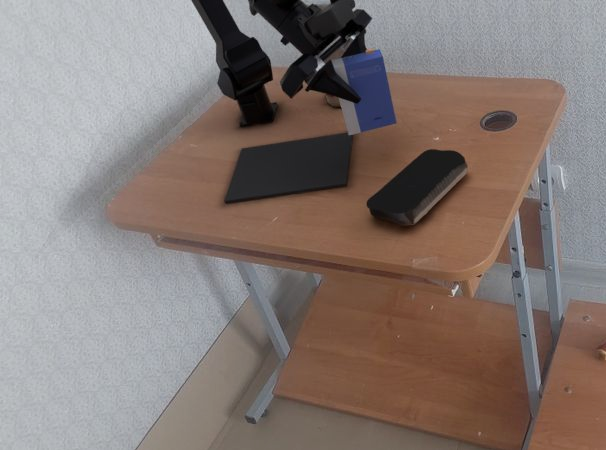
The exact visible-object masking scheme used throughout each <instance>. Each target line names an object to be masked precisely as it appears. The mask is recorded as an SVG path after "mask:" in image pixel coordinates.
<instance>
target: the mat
mask: <svg viewBox="0 0 606 450" xmlns="http://www.w3.org/2000/svg"><path fill="white" fill-rule="evenodd" d="M353 137H354V134H353V135H349V134H348V132H342V133H336V134H328V135H322V136H315V137H309V138H308V137H307V138H302V139H296V140H295V139H294V140H289V141H288V140H287V141H282V142H275V143H269V144H263V145H262V144H261V145H256V146H248V147H242V148H241V150H240V153H239V155H238V158H237V161H236V165H235V167H234V170H233V173H232V176H231V179H230V182H229V185H228V188H227V191H226V194H225V197H224V200H223V203H224V204H225V205H226V204H234V203H239V202H246V201H253V200H261V199H268V198H275V197H281V196H288V195H295V194H302V193H309V192H314V191H315V192H316V191H323V190H330V189H336V188H343V187H347V185H348V179H349V178H348V177H349V169H350V162H351V154H352V146H353Z"/></svg>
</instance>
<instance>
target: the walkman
mask: <svg viewBox="0 0 606 450" xmlns="http://www.w3.org/2000/svg"><path fill="white" fill-rule="evenodd" d="M331 61H332V64H333V66H334V69H335V72H336V73H337V74H338V75H339V76H340V77H341V78H342V79H343V80H344V81H345V82H346V83H347V84H348V85H349V86H350V87H351V88H352V89H353V90H354V91H355V92H356V93H357V94H358V95H359V97H360V98H361V101H360V102H359V103H358V104H356V103H353V102H350V101H347V100H344V99H341V98H339V102H340V105H341V107H340V108H341V111H342V115H343V119H344V123H345V127H346V130H347V133H348V134H349V135H353V136H354V135H356V134H361V133H365V132H369V131H372V130H376V129H380V128H384V127H388V126H392V125H397V118H396V114H395V108H394V104H393V103H394V102H393V99H392V95H391V94H392V93H391V90H390V84H389V79H388V75H387V69H386V65H385V60H384V56H383V54H382V51H381V49H380V48H379V49H374V48H371V49H367V50H366V52H365V53H361V54H356V55H352V56H348V57H343V58H339V59H335V60H331Z"/></svg>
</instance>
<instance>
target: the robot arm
mask: <svg viewBox="0 0 606 450" xmlns="http://www.w3.org/2000/svg"><path fill="white" fill-rule="evenodd" d="M190 1H191V2H192V4H193V6H194V8H195V10H196V12H197V13H198V15H199V17H200V18H201V20H202V22H203V23H204V26H205V28H206V29H207V31H208V32H209V34H210V36H211V37H212V39H213V40H214V43H215V63H216V65H217V67H218V69H219V74H218V79H217V82H216V84H217V86H218V87H219V90H220V91H221V93H222V95H224V96H226V97H228V98H229V99H231V100H233V101H236V103H237V105H238V108H239V110H240V113H241V117H240V119H239V122H238V126H239V127H241V128H242V127H247V126H254V125H260V124H261V125H262V124H268V123H272V122H273V121H274V119H275V116H276V112H277V109H278V106H279V104H278V102H277V101H274V102H271V100H270V97H269V94H268V92H267V90H266V86H265V85H266V84H268V83H270V82H272V81H274V75H273V74H274V73H273V67H272V62H271V59H270V56H269V55H268V54H267V53H266V52H265V51H264V50H263V49H262V46H261V45H260V42H259V41H258V39H256V38H255V37H254V36H248V35H246V34H245V33H244V32H242V31H241V30H240V28H239V26H238V25H237V22H236V21H235V19H234V17H233V15H232V13H231V12H230V9H229V8H228V7H227V5H226V3H225V1H224V0H190ZM247 1H248V7H249V8H248V9H249V11H250V12H249V13H250V14H251V16H253V17H256V15H258V14H259V16H261V17H262V18H263V19H264V20H265V21H266V22H267V24H269V25H270V26H271V27H272V28H273V29H275V30H276V32H277V33H279V34H280V35H281V36H282V37H281V39H280V40H279V42H280V43H281V44H282V45H284V46H285V47H286V46H287V45H288V44H289V43H290V44H291V45H292V47H294V48H295V49H296V50H297V51H298V52H299V53H300V54H301V55H300V56H299V57H298V58H297V59H295V61H293V62H291V64H290V65H289V67H288V68H287V70H286V71H285V73H284V75H283V76H281V77H282V78H281V79H280V80H279V84H280V88H281V90H282V92H283V93H284V94H286V96H288V98H290V99H293V98H294V97H295V96H296V95H297V94H299V93H300V92H301V91H302V90H303V89H304V83H305V84H306V85H307V86H306V87H305V89H304V91H305V92H306V93H309V92H310V91H312V92H317V93H321V94H325V95H326V94H329V95H332V96H335V97H338V98H341V99H344V100H347V101H350V102H353V103H356V104H358V103H359V102H360V101H361V98H360V97H359V95H358V94H357V93H356V92H355V91H354V90H353V89H352V88H351V87H350V86H349V85H348V84H347V83H346V82H345V81H344V80H343V79H342V78H341V77H340V76H339V75H338V74H337V73H336V72H335V69H334V66H333V64H332V61H331V59H330V60H329V61H328V62H327V63H324V61H325V60H327V59H328V58H329V57H330V56H331V55H332V54H333V53H334V52H336V51H337V50H338V49H339V50H340V51H341V52H343V53H344V54H343V55H342V56H341V58H343V57H348V56H352V55H356V54H361V53H365V52H366V50H368V49H367V47H366V39H365V38H366V37H365V35H366V34H367V29H366V28H367V27H368V25H369V24H370V23H371V21H372V20H373V17H372V16H371V15H370V14H369V13H368V12H367V11H366V10H365V9H361V8H356V2H355V0H330V3H331V4H329V5H328V6H326V7H325V8H323V9H321V8H319V7H318V6H317V5H316V4H313V3H312V4H311V5H310V6H309V7H308V6H307V5H306V4H305V3H304V2H303V1H301V0H247ZM354 8H356V9H355V10H354V11H353V9H354Z"/></svg>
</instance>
